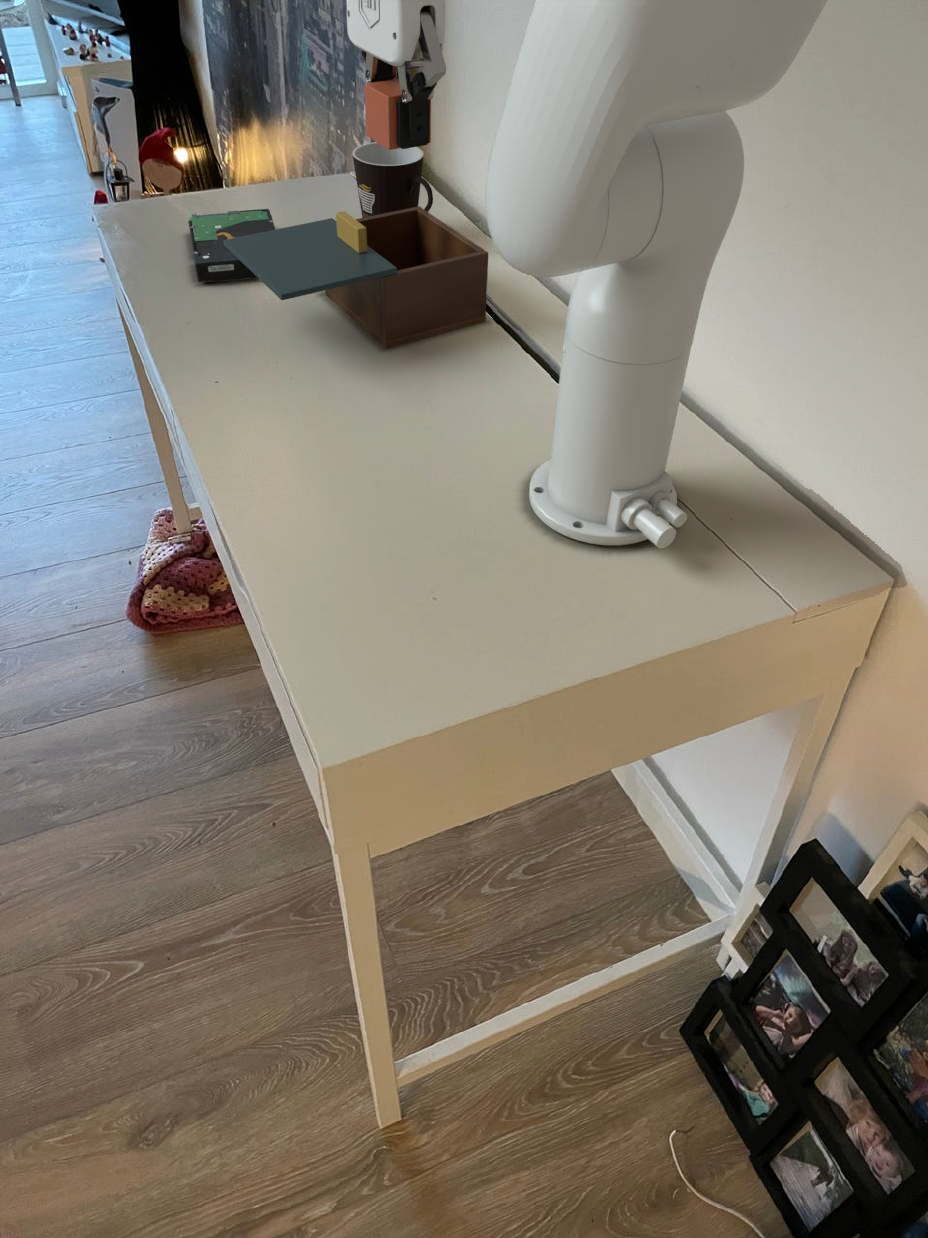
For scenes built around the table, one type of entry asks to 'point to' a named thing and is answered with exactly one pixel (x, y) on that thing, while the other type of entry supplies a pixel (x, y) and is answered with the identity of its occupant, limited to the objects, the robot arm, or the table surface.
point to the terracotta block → (383, 112)
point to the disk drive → (209, 242)
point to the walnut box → (417, 280)
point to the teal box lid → (311, 256)
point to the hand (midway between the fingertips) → (399, 134)
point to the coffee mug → (389, 178)
